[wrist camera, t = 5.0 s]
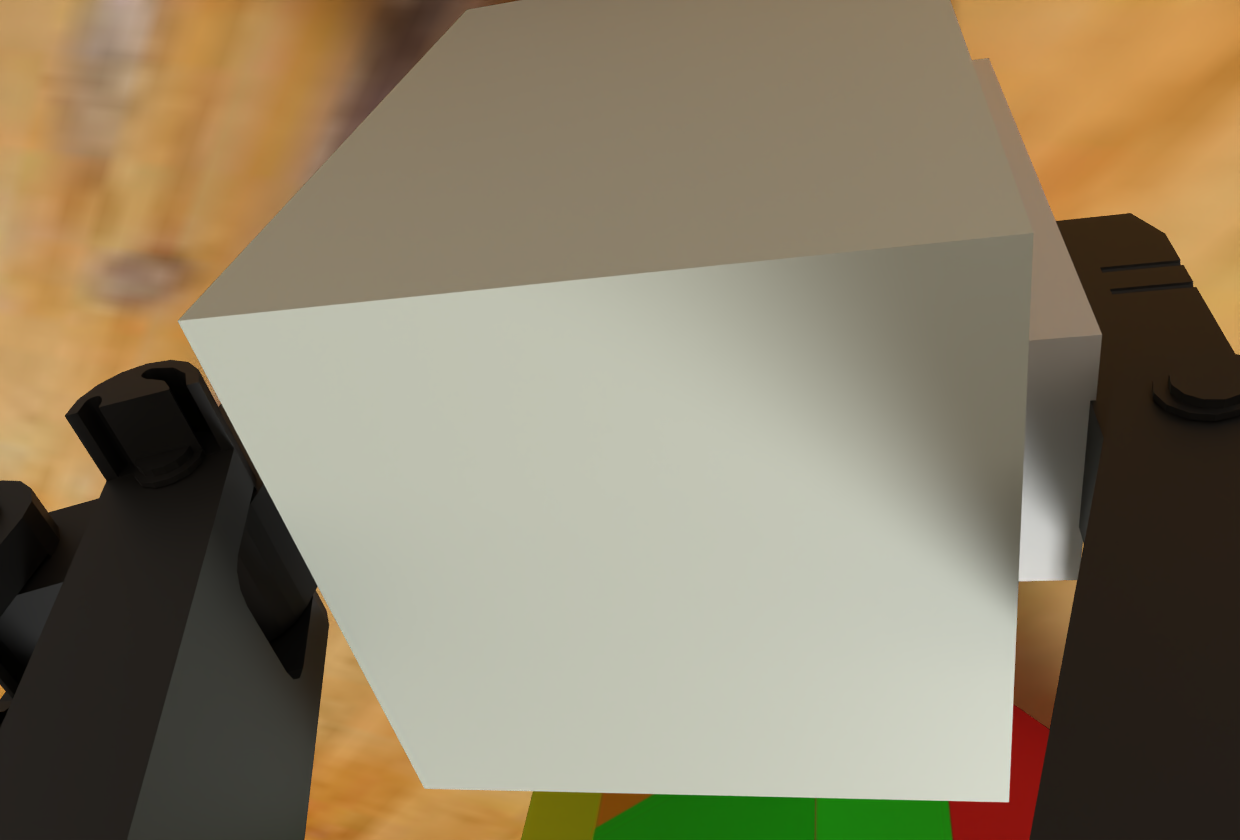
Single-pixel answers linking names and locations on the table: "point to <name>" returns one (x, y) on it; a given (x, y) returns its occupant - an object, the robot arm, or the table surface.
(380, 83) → the table surface
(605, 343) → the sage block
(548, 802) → the puzzle toy
